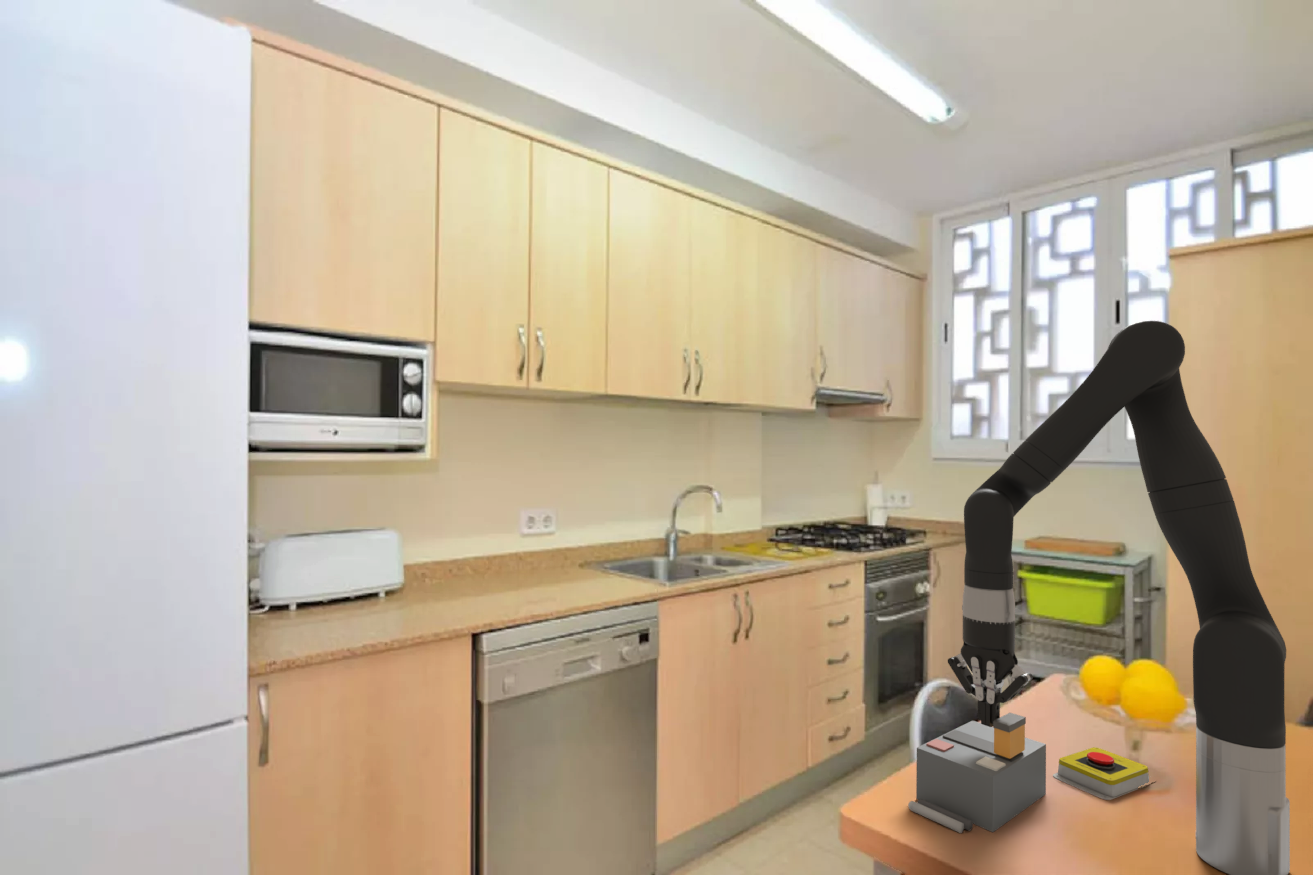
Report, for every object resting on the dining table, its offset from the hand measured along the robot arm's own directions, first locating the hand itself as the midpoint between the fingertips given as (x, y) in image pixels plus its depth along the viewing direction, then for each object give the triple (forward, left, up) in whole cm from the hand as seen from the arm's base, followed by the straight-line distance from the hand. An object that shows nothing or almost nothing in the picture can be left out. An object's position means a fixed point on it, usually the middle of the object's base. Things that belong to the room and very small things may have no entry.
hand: (988, 724), depth 109 cm
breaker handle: (-3, 0, -3) cm, 5 cm away
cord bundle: (+1, +12, -12) cm, 17 cm away
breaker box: (+1, 0, -12) cm, 12 cm away
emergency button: (-9, -23, -13) cm, 27 cm away
